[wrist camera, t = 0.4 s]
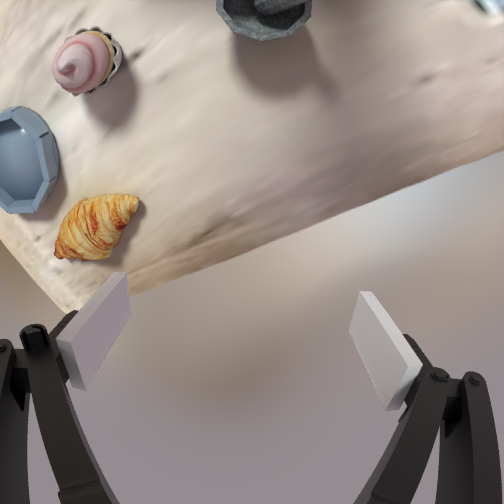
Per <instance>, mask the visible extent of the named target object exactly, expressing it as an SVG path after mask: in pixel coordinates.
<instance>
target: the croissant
mask: <svg viewBox="0 0 504 504" xmlns="http://www.w3.org/2000/svg"><path fill="white" fill-rule="evenodd" d="M139 203H140V202H139V198H138V197H137V196H134V195H128V194H125V195H122V194H108V195H106V194H104V195H99V196H96V197H93V198H91V199H88V198H84V199H82V200H81V201H79V202H78V203H77V204H76V205H75V206H74V207H73V208H72V209H71V211H70V212H69V213H68V214H67V215H66V217H65V218H64V220H63V222H62V224H61V226H60V232H59V235H58V239H57V240H56V243H55V252H54V255H55V256H56V257H57V258H58V259H63V258H67V259H72V258H74V259H76V258H80V259H81V260H82V261H86V260H103V259H107V258H108V257H110V255H111V253H112V252H113V248H114V245H115V244H117V243H118V242H119V240H120V238H119V237H120V234H121V232H122V230H123V229H124V228H125V227H126V226H127V225H128V223H129V220H130V218H131V214H133V213H135V212H136V210H137V208H138V206H139Z"/></svg>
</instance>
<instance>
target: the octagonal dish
mask: <svg viewBox="0 0 504 504" xmlns="http://www.w3.org/2000/svg"><path fill="white" fill-rule="evenodd" d="M58 174H59V154H58V148H57V144H56V141H55V138H54V136H53V134H52V131H51V130H50V128H49V126H48V125H47V123H46V122H45V120H44V119H43V118H42V117H41V116H40V115H39V114H37V113H36V112H35V111H33V110H31V109H29V108H26V107H21V106H19V107H12V108H9V109H7V110H5V111H3V112H1V113H0V206H1V207H2V208H3V209H4V210H5V211H6V212H7V213H8V212H9V214H14V213H34V212H35V211H37V210H38V209H39V208H40V207H41V206H42V205H43V204H44V202H45V199H46V198H47V197H48V196H49V195H50V194H51V192H52V191H53V189H54V187H55V185H56V182H57V179H58Z"/></svg>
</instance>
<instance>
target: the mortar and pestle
mask: <svg viewBox="0 0 504 504" xmlns="http://www.w3.org/2000/svg"><path fill="white" fill-rule="evenodd" d="M311 9H312V0H217V2H216V11H217V12H218V14H219V15H220V16H221V17H222V19H223V20H224V21H225V22H226V24H227V25H228V26H229V27H230V29H231V30H232V31H233V33H236V34H239V35H242V36H245V37H248V38H251V39H254V40H257V41H260V42H263V41H268V40H273V39H278V38H283V37H289V36H292V35H293V34H294V33H295V32H296V31H297V30H298V29H299V28H300V27H301V26H302V25H303V24H304V23H305V22H306V21H307V20H308V19H309V18H310V17H311Z"/></svg>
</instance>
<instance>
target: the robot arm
mask: <svg viewBox="0 0 504 504" xmlns="http://www.w3.org/2000/svg"><path fill="white" fill-rule="evenodd" d="M130 316H131V310H130V301H129V291H128V281H127V273H122V272H114V273H113V274H112V275H111V276H110V277H109V278H108V279H107V281H106V282H105V283H104V284H103V285H102V286H101V287H100V288H99V289H98V290H97V291H96V293H95V294H94V295H93V296H92V297H91V298H90V299H89V300H88V301H87V303H86V304H85V305H84V306H83V307H82V308H81V309H80V310H79V311H77V310H73V311H72V312H70V313H68V314H66V316H65V317H64V318H63V319H62V320H61V321H60V322H59V323H58V324H57V326H56V327H55V328H54V329H53V330H52V331H51V332H50V334H49V335H48V333H47V330H46V328H45V326H43V325H41V324H31V325H28V326H26V327H25V328H23V329H22V330H21V332H20V339H21V341H22V344H23V347H24V349H14V347H13V345H12V343H11V341H9V340H7V339H0V504H30V499H29V487H28V470H27V433H28V412H29V400H30V393H32V398H33V403H34V407H35V412H36V416H37V420H38V424H39V428H40V432H41V435H42V439H43V442H44V446H45V449H46V452H47V455H48V458H49V461H50V464H51V467H52V470H53V473H54V476H55V478H56V481H57V483H58V486H59V489H60V491H59V492H58V497H59V499H60V502H61V504H120V503H119V502H118V500H117V498H116V497H115V495H114V493H113V491H112V490H111V488H110V486H109V484H108V482H107V481H106V479H105V477H104V475H103V473H102V471H101V469H100V467H99V465H98V463H97V461H96V459H95V457H94V455H93V453H92V450H91V448H90V446H89V444H88V442H87V439H86V437H85V435H84V432H83V430H82V428H81V425H80V423H79V420H78V417H77V415H76V412H75V410H74V407H73V404H72V401H71V398H70V396H69V393H68V390H67V387H66V385H65V383H66V382H67V380H68V379H70V382H71V385H72V387H74V388H77V389H80V390H84V391H87V389H88V388H89V386H90V384H91V382H92V380H93V379H94V377H95V375H96V373H97V371H98V370H99V368H100V366H101V364H102V363H103V361H104V359H105V357H106V356H107V354H108V352H109V351H110V349H111V347H112V346H113V344H114V342H115V340H116V339H117V337H118V335H119V334H120V332H121V331H122V329H123V327H124V326H125V324H126V322H127V321H128V319H129V317H130ZM349 333H350V335H351V337H352V339H353V342H354V343H355V346H356V348H357V350H358V352H359V354H360V356H361V358H362V361H363V363H364V365H365V367H366V370H367V372H368V374H369V376H370V378H371V380H372V383H373V385H374V387H375V390H376V392H377V394H378V396H379V399H380V401H381V403H382V406H383V408H384V410H385V411H391V410H398V409H399V408H400V407H401V405H402V403H403V401H405V403H406V405H407V408H406V409H405V411H404V413H403V414H402V416H401V417H400V419H399V421H398V422H399V424H398V426H397V428H396V430H395V432H394V434H393V437H392V438H391V440H390V442H389V444H388V446H387V448H386V450H385V452H384V454H383V456H382V457H381V459H380V461H379V463H378V465H377V466H376V468H375V470H374V471H373V473H372V475H371V477H370V478H369V480H368V482H367V483H366V485H365V486H364V488H363V490H362V491H361V493H360V494H359V496H358V497H357V499H356V500H355V502H354V503H353V504H410V503H411V501H412V498H413V496H414V494H415V492H416V490H417V487H418V485H419V483H420V480H421V477H422V475H423V473H424V470H425V468H426V465H427V462H428V459H429V457H430V454H431V451H432V448H433V445H434V442H435V439H436V436H437V433H438V429H439V426H440V452H439V471H438V483H437V493H436V502H435V504H502V483H501V469H500V458H499V449H498V442H497V435H496V429H495V423H494V417H493V412H492V407H491V402H490V397H489V393H488V389H487V385H486V381H485V379H484V378H483V377H482V376H481V375H480V374H479V373H476V372H471V371H469V372H466V373H465V375H464V376H463V378H462V380H461V379H452V378H450V376H449V374H448V373H447V372H446V371H445V370H443V369H441V368H437V367H433V366H432V365H431V363H430V362H429V360H428V359H427V357H426V356H425V355H424V353H423V352H422V350H421V349H420V348H419V347H418V345H417V343H416V342H415V340H414V339H412V338H411V337H410V336H409V335H407V334H402V333H401V332H400V330H399V329H398V328H397V326H396V325H395V323H394V322H393V321H392V319H391V318H390V316H389V315H388V314H387V312H386V311H385V310H384V308H383V307H382V305H381V304H380V303H379V301H378V300H377V299H376V297H375V296H374V295H373V293H372V292H369V291H368V292H367V291H359V295H358V299H357V303H356V306H355V310H354V314H353V317H352V321H351V324H350V328H349Z"/></svg>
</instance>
